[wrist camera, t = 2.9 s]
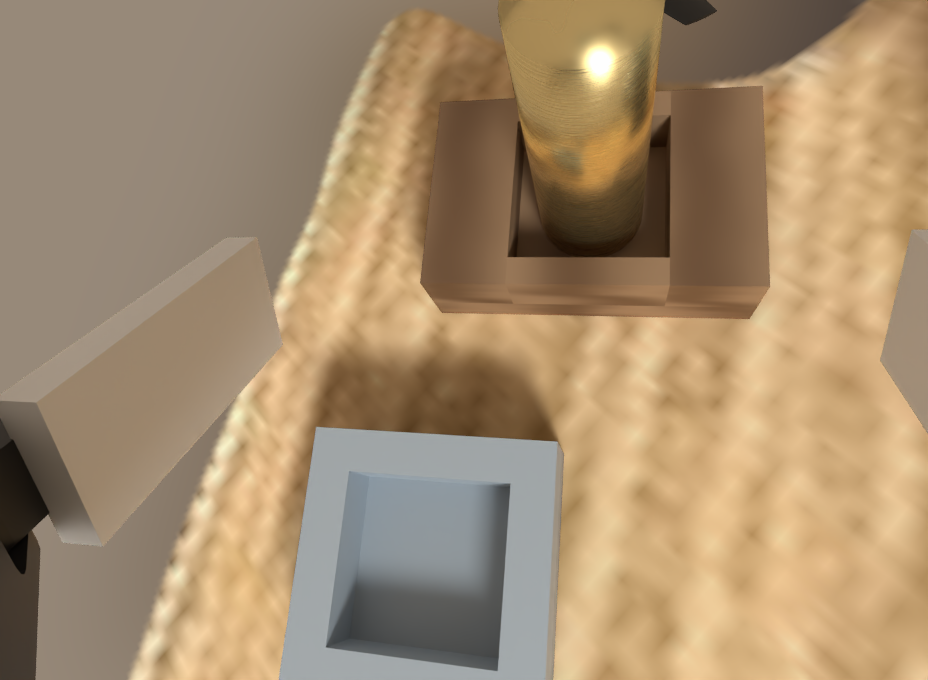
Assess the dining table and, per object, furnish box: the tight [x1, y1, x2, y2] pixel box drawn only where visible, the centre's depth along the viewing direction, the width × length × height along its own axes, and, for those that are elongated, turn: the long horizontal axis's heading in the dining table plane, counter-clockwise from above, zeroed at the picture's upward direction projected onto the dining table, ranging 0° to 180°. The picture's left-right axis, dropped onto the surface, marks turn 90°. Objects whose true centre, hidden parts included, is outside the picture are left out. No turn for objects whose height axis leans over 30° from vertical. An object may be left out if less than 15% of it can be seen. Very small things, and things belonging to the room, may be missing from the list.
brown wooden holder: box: [420, 86, 770, 319], centre depth 30 cm, size 14×9×4 cm, turn 85°
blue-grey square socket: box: [279, 427, 564, 680], centre depth 27 cm, size 10×10×4 cm
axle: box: [498, 0, 665, 257], centre depth 25 cm, size 5×5×13 cm
